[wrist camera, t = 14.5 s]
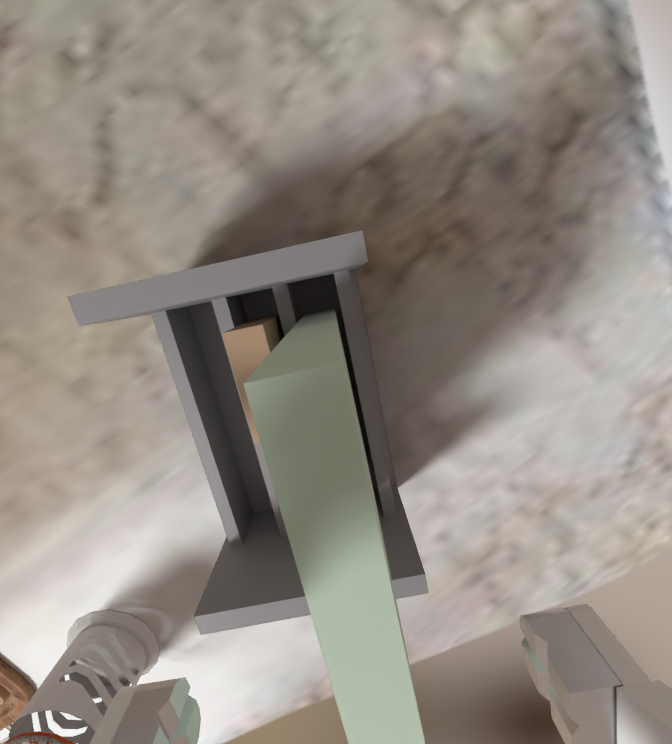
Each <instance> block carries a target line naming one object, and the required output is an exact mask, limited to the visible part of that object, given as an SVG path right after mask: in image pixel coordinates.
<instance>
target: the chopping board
mask: <svg viewBox="0 0 672 744" xmlns="http://www.w3.org/2000/svg"><path fill="white" fill-rule="evenodd" d="M34 694H35V693H34V690H33V687H32V686H31V685H30V683H29V682H28V681H27V680H26V679H25V678H24V677H22V676H21V675H20V674H19V673H18V672H16V671H15V670H14V669H13V668H12V667H10V666H9V665H8V664H7V663H5V662H4V661H3V660H2V659H1V658H0V731H1V730H2V729H4V730H6V731H7V732H8V733H9V732H10V729H11V724H12V723H14V722H15V721H16V719H17V718H18V716H19V715H20V714H21V712H22V711H23V709H24V708H25V707H26V705H27V704H28V703H29V701H30V700H31V698H32V697H33V696H34ZM8 739H9V737H8V738H6V739H4V740H3V741H1V742H0V744H4V743H5V742H6V741H8Z"/></svg>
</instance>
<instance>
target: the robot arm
mask: <svg viewBox="0 0 672 744" xmlns="http://www.w3.org/2000/svg"><path fill="white" fill-rule="evenodd" d="M520 628H521V630H522V632H523V633H524V635H525V638H524V639H523V641H522V647H523V654H524V657H525V661H526V663H527V667H528V670H529V672H530V674H531V676H532V679H533V681H534V683H535V685H536V687H537V689H538V691H539V693H540V694H542V695H543V696H544V697H545V698H546V699H548V700H549V701H550V702H551V713H552V719H553V721H554V723H555V724H556V726H557V728H558V730H559V732H560V734H561V736H562V738H563V740H564V742H565V744H672V688H670V687H669V686H667V685H666V684H664V683H662V682H661V681H659V680H658V681H651V680H650V679H649V678H648V676H647V675H646V674H645V673H644V672H643V670H642V669H641V668H640V667H639V665H638V664H637V663H636V662H635V661H634V659H633V658H632V657H631V656H630V655H629V653H628V652H627V651H626V649H625V648H624V647H623V646H622V644H621V643H620V642H619V641H618V640H617V638H616V637H615V636H614V635H613V633H612V632H611V631H610V630H609V628H608V627H607V626H606V625H605V623H604V622H603V621H602V620H601V618H600V617H599V616H598V615H597V614H596V612H595V611H594V610H593V609H592V608H591V607H590V606H589V605H587V604H580V605H575V606H571V607H566V608H562V607H561V608H556V609H551V610H546V611H541V612H536V613H531V614H526V615H521V617H520ZM189 689H190V685H189V683H188V682H187V680H186V678H178V679H172V680H166V681H159V682H153V683H147V684H140V685H134V686H128V687H123V688H121V689H120V690H119V691H118V693H117V694H116V695H115V696H114V698H113V700H112V701H111V703H110V705H109V707H108V709H107V711H106V713H105V715H104V717H103V719H102V721H101V723H100V724H99V726H98V728H97V730H96V732H95V734H94V736H93V738H92V740H91V742H90V744H197V741H198V738H199V731H200V720H201V718H200V710H199V706H198V704H197V701H196V700H195V699H193V698H192V697H190V696H189V695H188V692H189Z"/></svg>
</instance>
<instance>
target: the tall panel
mask: <svg viewBox="0 0 672 744" xmlns="http://www.w3.org/2000/svg"><path fill="white" fill-rule="evenodd" d="M243 385H244V388H245V391H246V395H247V398H248V402H249V405H250V408H251V412H252V415H253V419H254V422H255V426H256V429H257V432H258V436H259V439H260V443H261V446H262V449H263V453H264V456H265V460H266V463H267V467H268V470H269V473H270V477H271V480H272V484H273V487H274V490H275V494H276V497H277V501H278V504H279V507H280V511H281V514H282V518H283V521H284V525H285V528H286V531H287V535H288V538H289V542H290V545H291V548H292V552H293V555H294V559H295V562H296V566H297V569H298V572H299V576H300V579H301V583H302V586H303V589H304V593H305V596H306V600H307V603H308V607H309V610H310V613H311V617H312V620H313V624H314V627H315V630H316V634H317V637H318V641H319V644H320V647H321V651H322V654H323V658H324V661H325V665H326V668H327V671H328V675H329V678H330V682H331V685H332V688H333V692H334V695H335V699H336V702H337V705H338V709H339V712H340V716H341V719H342V722H343V726H344V729H345V733H346V736H347V740H348V743H349V744H425V739H424V734H423V730H422V725H421V720H420V715H419V710H418V705H417V700H416V695H415V691H414V686H413V681H412V676H411V671H410V666H409V661H408V656H407V652H406V647H405V642H404V637H403V632H402V627H401V622H400V617H399V613H398V608H397V603H396V598H395V593H394V588H393V583H392V578H391V574H390V569H389V564H388V559H387V554H386V549H385V544H384V539H383V535H382V530H381V525H380V520H379V515H378V510H377V505H376V500H375V496H374V491H373V486H372V481H371V476H370V471H369V466H368V461H367V457H366V452H365V447H364V443H363V438H362V433H361V429H360V424H359V419H358V415H357V410H356V405H355V401H354V396H353V391H352V387H351V382H350V377H349V372H348V368H347V363H346V358H345V354H344V349H343V344H342V340H341V335H340V330H339V326H338V321H337V316H336V312H335V307H333V308H329V309H324V310H320V311H315V312H311V313H306V314H304V315H303V317H302V318H301V319H300V320H299V321H298V322H297V323H296V324H295V326H294V327H293V328H292V329H291V330H290V331H289V332H288V333H287V335H286V336H285V337H284V338H283V339H282V340H281V341H280V342H279V344H278V345H277V346H276V347H275V348H274V349H273V350H272V351H271V353H270V354H269V355H268V356H267V357H266V358H265V359H264V360H263V362H262V363H261V364H260V365H259V366H258V367H257V368H256V370H255V371H254V372H253V373H252V374H251V375H250V376H249V377H248V379H247V380H246V381H245V382H244V383H243Z"/></svg>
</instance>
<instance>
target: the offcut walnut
mask: <svg viewBox="0 0 672 744" xmlns="http://www.w3.org/2000/svg"><path fill="white" fill-rule="evenodd" d="M222 336H223V339H224V342H225V346H226V349H227V353H228V356H229V359H230V363H231V366H232V369H233V373H234V376H235V380H236V383H237V386H238V390H239V393H240V397H241V400H242V403H243V407H244V410H245V414H246V417H247V420H248V424H249V427H250V430H251V434H252V437H253V441H254V443H258V442H260V439H259V436H258V432H257V429H256V426H255V422H254V419H253V415H252V412H251V408H250V405H249V402H248V398H247V395H246V391H245V388H244V385H243V383H244V382H245V381H246V380H247V379H248V377H249V376H250V375H251V374H252V373H253V372H254V371H255V370H256V368H257V367H258V366H259V365H260V364H261V363H262V362H263V360H264V359H265V358H266V357H267V356H268V355H269V354H270V353H271V351H272V350H273V349H274V348H275V347H276V346H277V345H278V344H279V342H280V341H281V340H282V339H283V338H284V337H285V336H284V332H283V329H282V325H281V321H280V317H279V314H275V315H271V316H266V317H261V318H257V319H252V320H250V321H248V322H246V323H243V324H241V325H239V326H237V327H234V328H232V329H230V330H228V331H226V332H223V333H222Z"/></svg>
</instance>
